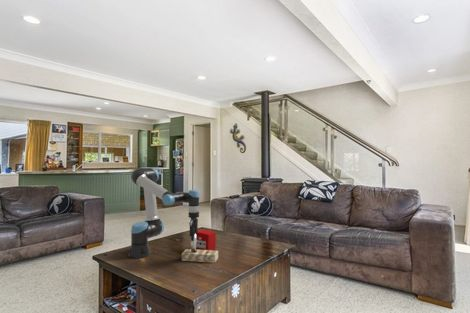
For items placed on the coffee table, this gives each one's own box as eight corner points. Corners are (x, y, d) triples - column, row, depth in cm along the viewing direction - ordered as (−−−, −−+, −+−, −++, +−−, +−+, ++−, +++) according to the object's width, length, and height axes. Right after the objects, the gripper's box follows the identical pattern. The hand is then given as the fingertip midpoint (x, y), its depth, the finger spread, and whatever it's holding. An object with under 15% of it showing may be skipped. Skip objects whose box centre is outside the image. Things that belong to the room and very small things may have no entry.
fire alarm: (190, 250, 216) (190, 231, 216) (198, 247, 225) (198, 228, 225) (208, 254, 208) (208, 234, 208) (215, 250, 218) (215, 231, 218)
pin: (190, 251, 197) (190, 234, 197) (192, 250, 200) (192, 233, 200) (195, 252, 196) (195, 235, 196) (196, 250, 200) (196, 233, 200)
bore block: (181, 260, 194) (181, 253, 194) (186, 255, 204) (186, 248, 204) (215, 262, 191) (215, 255, 191) (218, 257, 200) (218, 250, 201)
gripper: (195, 213, 190) (195, 248, 189) (202, 209, 206) (201, 241, 206) (185, 213, 191) (184, 247, 191) (192, 209, 208) (192, 240, 207)
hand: (193, 244), depth 198 cm, fingers closed on pin, 3 cm apart
